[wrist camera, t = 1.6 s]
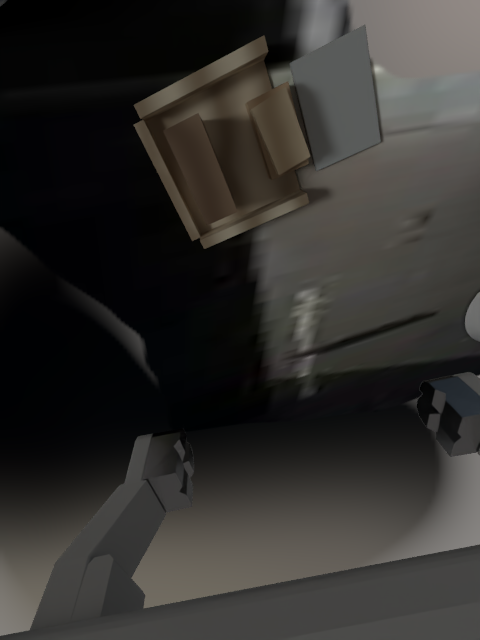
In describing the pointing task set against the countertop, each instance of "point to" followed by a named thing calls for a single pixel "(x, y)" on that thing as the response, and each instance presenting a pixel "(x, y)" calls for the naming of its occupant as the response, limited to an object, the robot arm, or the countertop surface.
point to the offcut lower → (264, 153)
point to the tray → (220, 143)
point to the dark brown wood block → (201, 168)
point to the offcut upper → (280, 131)
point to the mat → (337, 98)
